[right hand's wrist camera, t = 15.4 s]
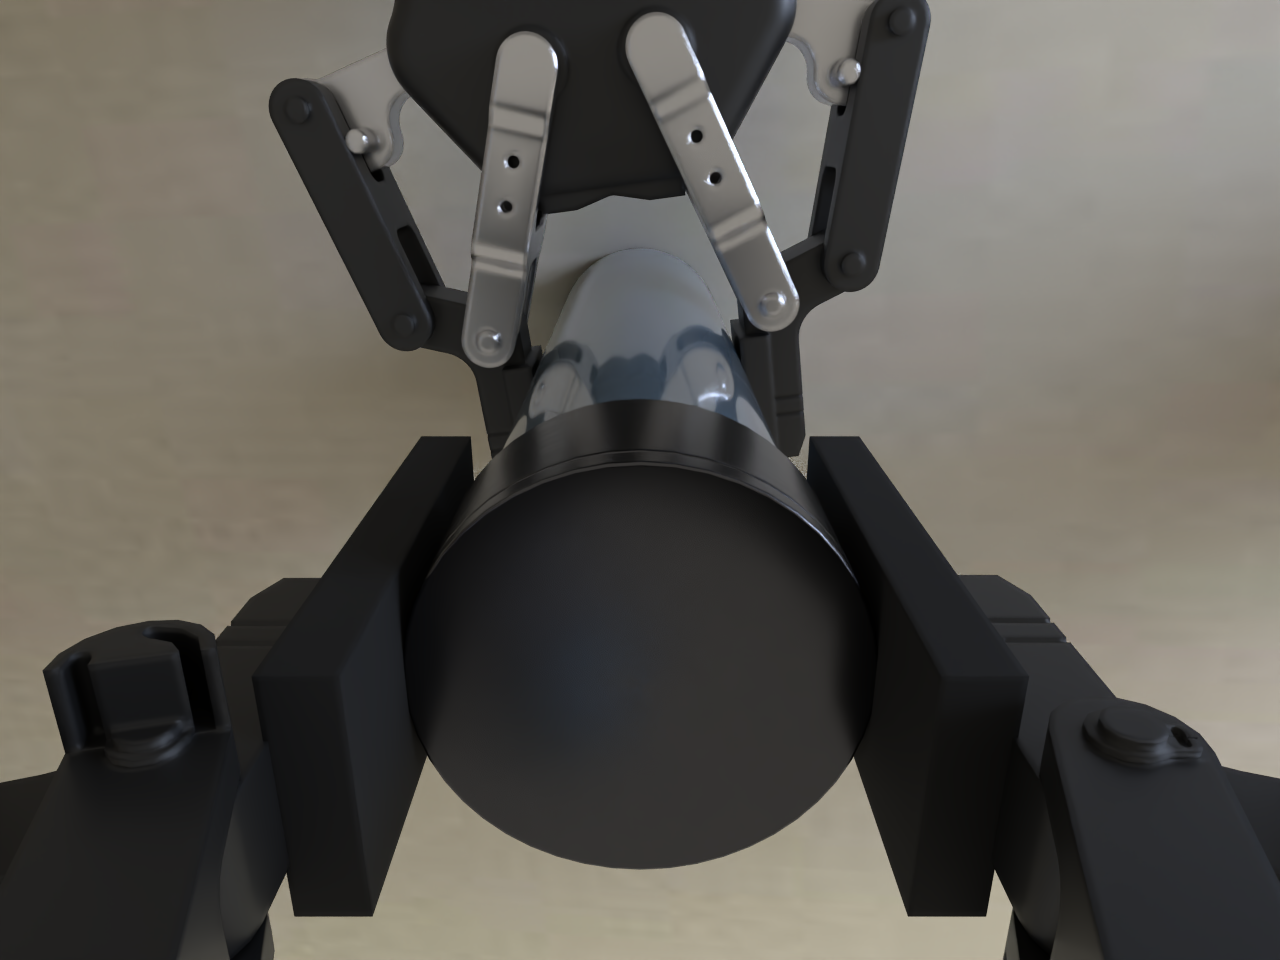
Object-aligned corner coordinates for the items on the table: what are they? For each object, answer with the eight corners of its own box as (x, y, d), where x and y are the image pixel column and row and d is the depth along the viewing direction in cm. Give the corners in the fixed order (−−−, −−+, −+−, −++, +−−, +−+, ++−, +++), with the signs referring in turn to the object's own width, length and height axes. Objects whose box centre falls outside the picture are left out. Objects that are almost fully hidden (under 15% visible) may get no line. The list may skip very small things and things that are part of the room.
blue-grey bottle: (680, 424, 29) (741, 875, 12) (540, 368, 28) (378, 756, 11) (743, 285, 28) (927, 562, 10) (596, 221, 27) (514, 400, 9)
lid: (736, 794, 13) (755, 921, 11) (395, 676, 13) (343, 789, 11) (907, 488, 12) (969, 571, 9) (523, 333, 11) (494, 383, 9)
